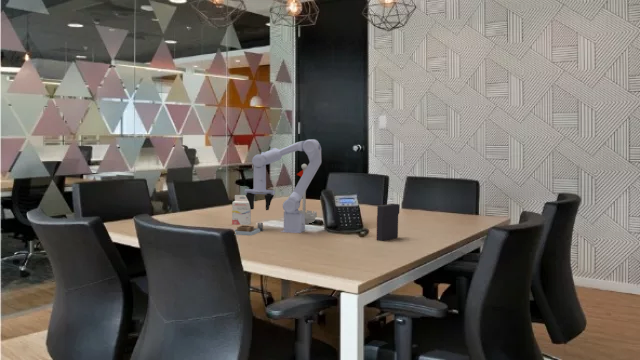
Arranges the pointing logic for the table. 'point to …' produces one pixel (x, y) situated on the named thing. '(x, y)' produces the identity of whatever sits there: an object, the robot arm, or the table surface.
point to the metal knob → (261, 227)
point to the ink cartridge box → (241, 211)
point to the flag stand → (309, 215)
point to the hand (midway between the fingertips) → (259, 209)
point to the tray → (247, 232)
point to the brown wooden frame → (245, 228)
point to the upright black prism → (387, 221)
